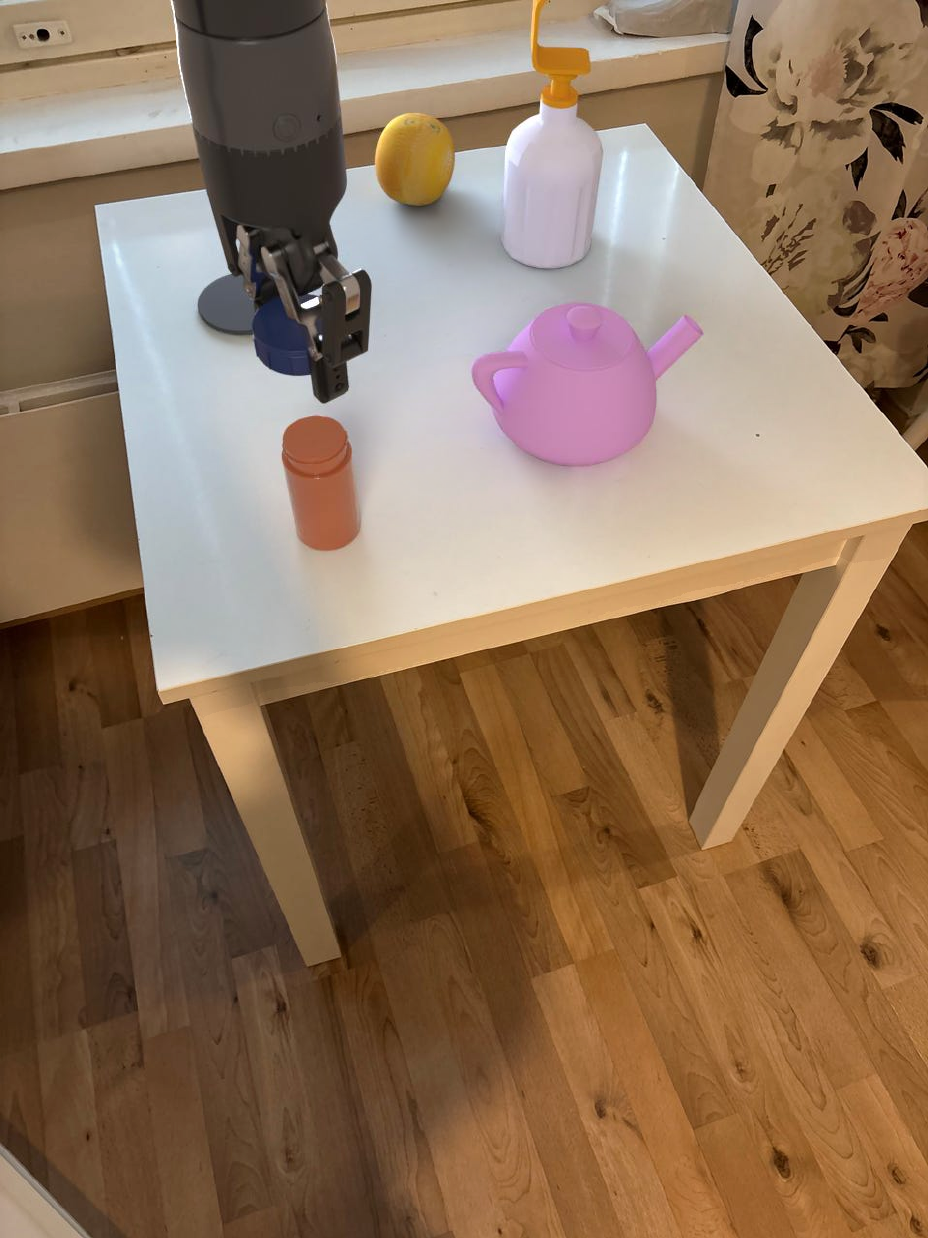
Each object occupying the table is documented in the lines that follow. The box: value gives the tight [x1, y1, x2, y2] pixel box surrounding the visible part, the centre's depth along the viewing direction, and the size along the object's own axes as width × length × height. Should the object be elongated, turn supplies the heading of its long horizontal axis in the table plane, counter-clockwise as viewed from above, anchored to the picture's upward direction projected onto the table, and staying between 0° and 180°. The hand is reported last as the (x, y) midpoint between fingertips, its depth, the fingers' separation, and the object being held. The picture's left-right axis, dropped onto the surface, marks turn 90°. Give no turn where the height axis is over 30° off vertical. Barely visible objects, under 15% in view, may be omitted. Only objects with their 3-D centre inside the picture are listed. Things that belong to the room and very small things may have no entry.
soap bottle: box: [500, 0, 604, 269], centre depth 86 cm, size 9×9×25 cm
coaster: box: [197, 273, 255, 336], centre depth 90 cm, size 9×9×1 cm
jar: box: [281, 414, 361, 552], centre depth 70 cm, size 5×5×10 cm
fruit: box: [374, 112, 456, 207], centre depth 97 cm, size 9×8×8 cm
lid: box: [252, 293, 322, 377], centre depth 59 cm, size 6×6×2 cm
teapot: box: [470, 302, 705, 467], centre depth 77 cm, size 14×20×11 cm
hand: (304, 368), depth 61 cm, fingers closed on lid, 5 cm apart
